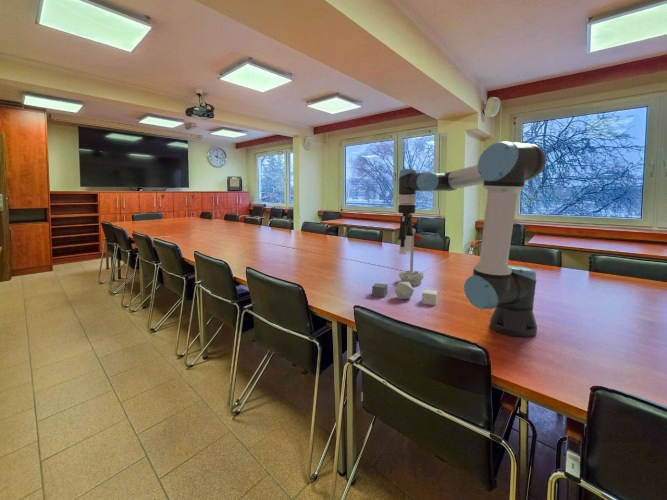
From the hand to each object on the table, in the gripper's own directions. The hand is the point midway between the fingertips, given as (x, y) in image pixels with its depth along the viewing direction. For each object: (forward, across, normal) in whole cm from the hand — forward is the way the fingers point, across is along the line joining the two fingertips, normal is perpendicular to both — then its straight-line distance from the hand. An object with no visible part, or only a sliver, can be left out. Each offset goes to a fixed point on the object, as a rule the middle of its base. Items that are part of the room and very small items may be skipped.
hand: (405, 251), depth 154 cm
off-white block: (+23, +1, +12) cm, 26 cm away
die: (+23, 0, 0) cm, 23 cm away
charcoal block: (+23, -1, -12) cm, 26 cm away
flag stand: (+23, -29, -2) cm, 37 cm away
